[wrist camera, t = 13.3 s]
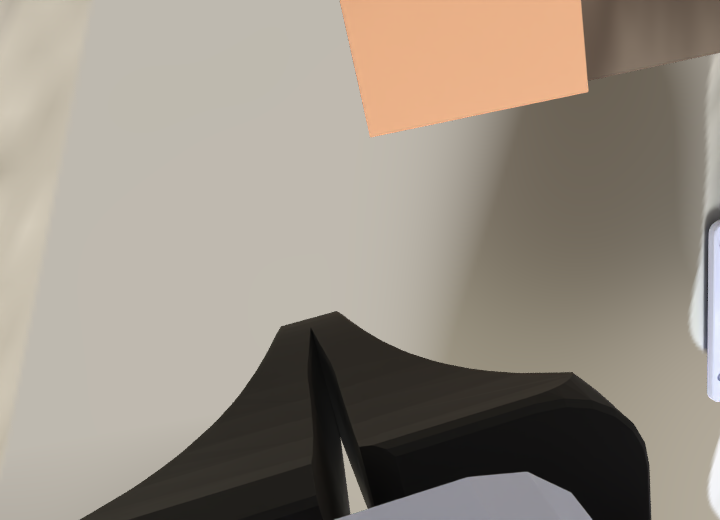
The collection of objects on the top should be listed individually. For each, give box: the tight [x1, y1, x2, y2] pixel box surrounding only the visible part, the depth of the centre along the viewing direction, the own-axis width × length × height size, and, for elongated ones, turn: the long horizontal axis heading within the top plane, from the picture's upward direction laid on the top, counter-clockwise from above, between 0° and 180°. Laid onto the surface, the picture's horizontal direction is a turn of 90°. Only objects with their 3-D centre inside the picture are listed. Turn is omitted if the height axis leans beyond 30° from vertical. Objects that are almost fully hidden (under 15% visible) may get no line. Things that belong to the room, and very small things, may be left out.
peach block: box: [340, 0, 588, 137], centre depth 18 cm, size 5×2×7 cm
